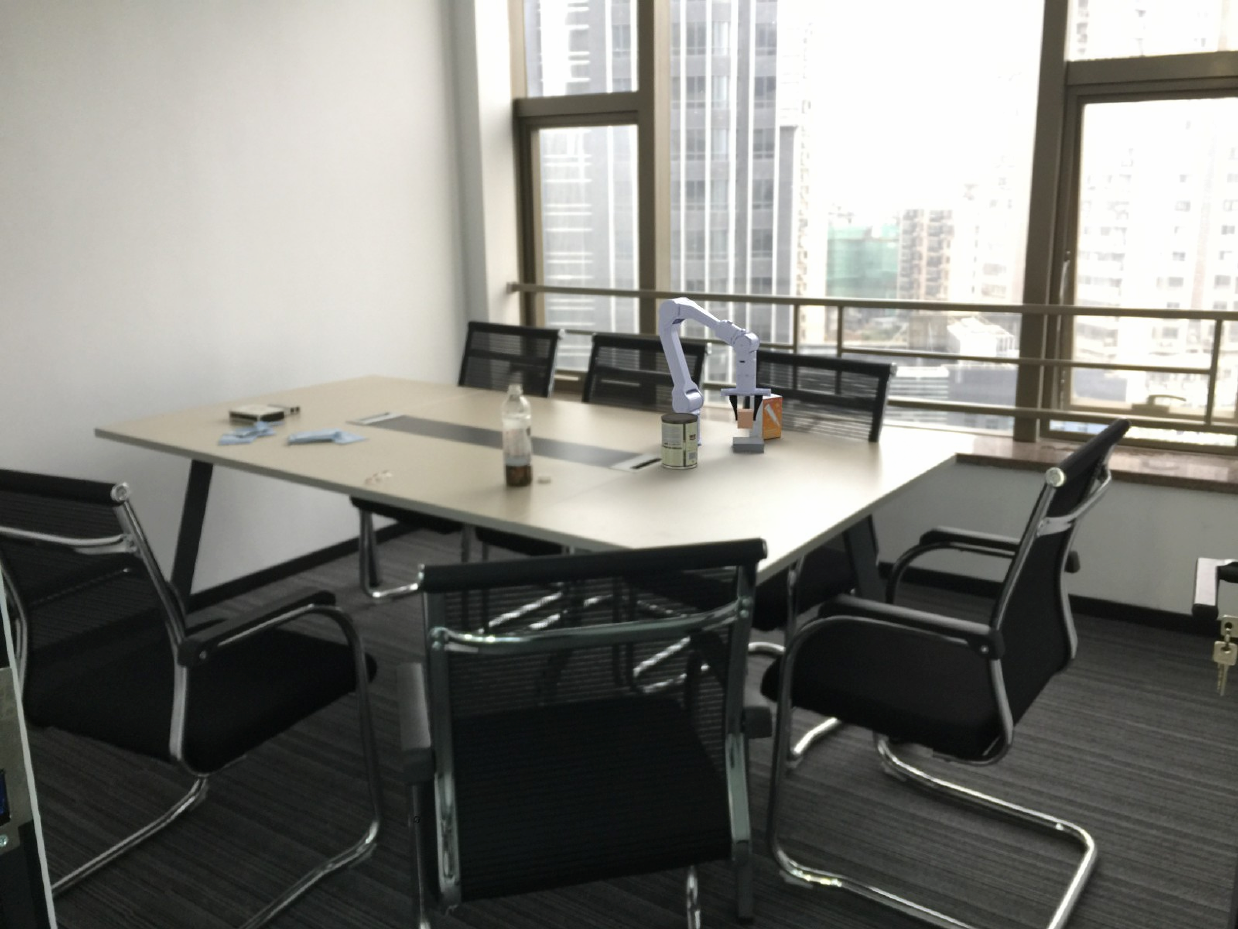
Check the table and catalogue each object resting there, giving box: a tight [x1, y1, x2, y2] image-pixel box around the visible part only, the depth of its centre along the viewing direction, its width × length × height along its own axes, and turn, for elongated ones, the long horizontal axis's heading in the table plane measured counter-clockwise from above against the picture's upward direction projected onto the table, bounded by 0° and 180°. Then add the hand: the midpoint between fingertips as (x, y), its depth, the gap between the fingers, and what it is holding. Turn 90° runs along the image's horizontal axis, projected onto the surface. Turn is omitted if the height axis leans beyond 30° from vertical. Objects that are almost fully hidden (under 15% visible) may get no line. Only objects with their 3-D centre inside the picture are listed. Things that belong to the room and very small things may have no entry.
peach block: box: [737, 408, 753, 430], centre depth 316 cm, size 4×4×5 cm
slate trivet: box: [732, 436, 765, 453], centre depth 319 cm, size 9×9×3 cm
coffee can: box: [660, 412, 699, 470], centre depth 300 cm, size 10×10×14 cm
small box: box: [748, 393, 783, 440], centre depth 333 cm, size 8×6×13 cm
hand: (745, 420), depth 317 cm, fingers closed on peach block, 5 cm apart
